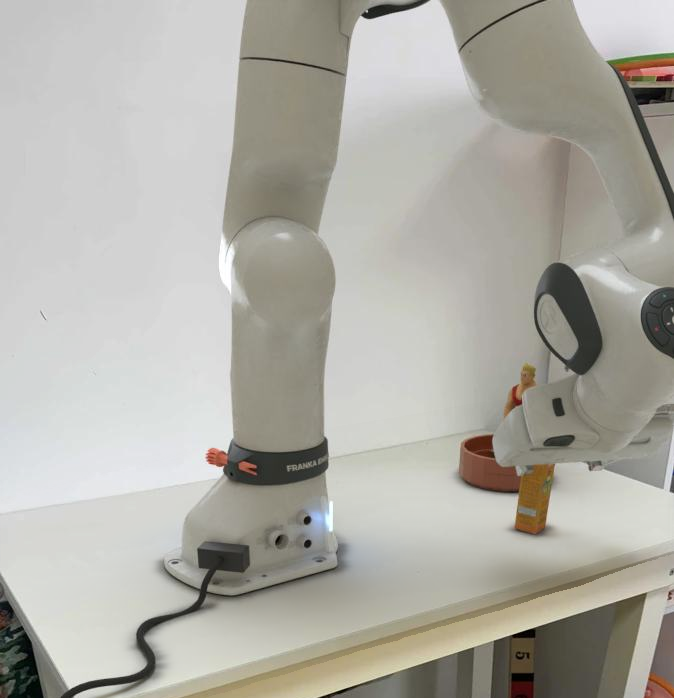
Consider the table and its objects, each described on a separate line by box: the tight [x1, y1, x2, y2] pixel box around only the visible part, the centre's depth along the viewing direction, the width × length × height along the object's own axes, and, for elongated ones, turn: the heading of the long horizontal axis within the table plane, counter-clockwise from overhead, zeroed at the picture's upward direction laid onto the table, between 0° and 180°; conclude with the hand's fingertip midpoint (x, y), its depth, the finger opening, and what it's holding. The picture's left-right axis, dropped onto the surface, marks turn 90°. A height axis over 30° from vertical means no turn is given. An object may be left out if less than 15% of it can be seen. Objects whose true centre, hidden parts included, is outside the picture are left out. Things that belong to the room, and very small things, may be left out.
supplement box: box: [514, 464, 556, 535], centre depth 115 cm, size 3×4×10 cm
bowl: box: [458, 433, 521, 492], centre depth 136 cm, size 14×14×5 cm
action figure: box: [502, 362, 539, 421], centre depth 145 cm, size 10×4×15 cm, turn 37°
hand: (557, 468), depth 108 cm, fingers open, 8 cm apart
